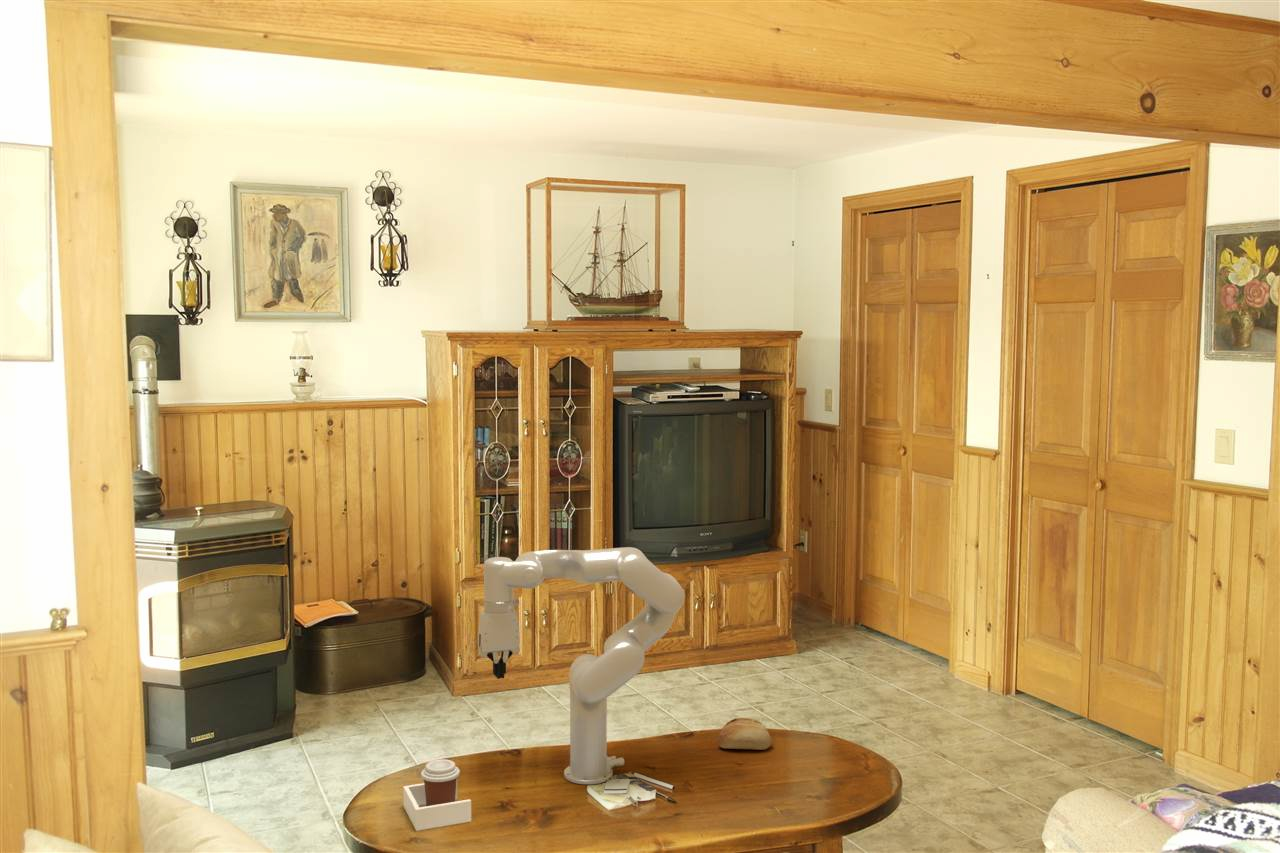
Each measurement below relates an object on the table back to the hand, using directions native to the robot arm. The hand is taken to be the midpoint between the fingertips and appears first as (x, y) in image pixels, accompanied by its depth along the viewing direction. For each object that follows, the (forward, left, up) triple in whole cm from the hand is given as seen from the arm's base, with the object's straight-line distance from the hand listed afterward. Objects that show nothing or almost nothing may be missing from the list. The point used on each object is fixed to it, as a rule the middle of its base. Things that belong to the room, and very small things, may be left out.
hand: (499, 676), depth 281 cm
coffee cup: (+19, +14, -27) cm, 36 cm away
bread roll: (-69, +4, -27) cm, 74 cm away
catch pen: (+20, +14, -27) cm, 36 cm away
